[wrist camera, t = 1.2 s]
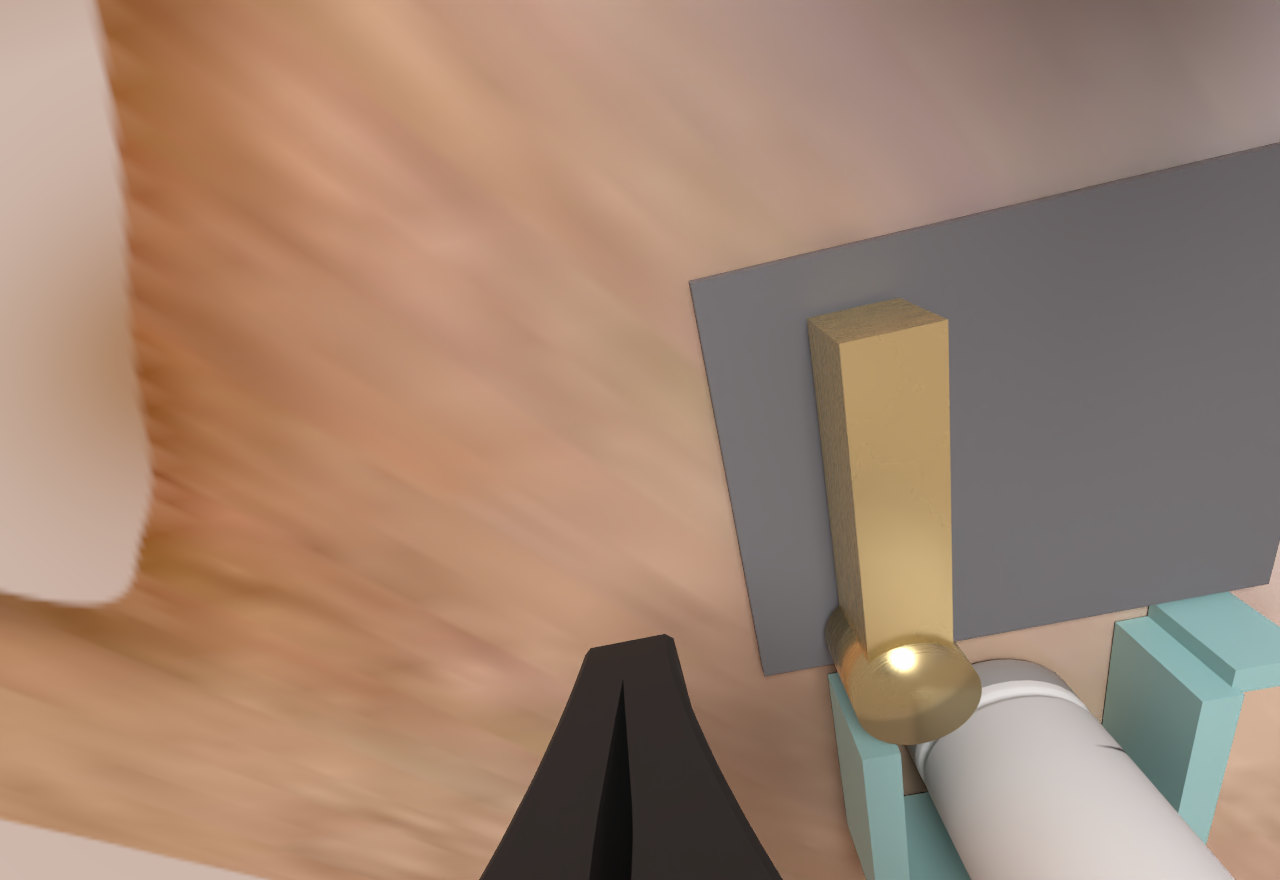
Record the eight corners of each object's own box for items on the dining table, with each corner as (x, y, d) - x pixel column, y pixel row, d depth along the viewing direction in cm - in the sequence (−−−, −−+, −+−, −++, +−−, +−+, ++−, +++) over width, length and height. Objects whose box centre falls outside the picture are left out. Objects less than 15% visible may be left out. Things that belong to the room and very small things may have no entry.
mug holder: (1222, 587, 21) (1332, 663, 17) (1183, 769, 24) (1267, 859, 21) (825, 660, 22) (860, 744, 18) (847, 824, 25) (879, 918, 22)
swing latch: (934, 658, 21) (981, 733, 18) (830, 677, 21) (860, 754, 18) (922, 292, 15) (985, 317, 13) (784, 323, 16) (817, 354, 13)
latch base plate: (1362, 122, 15) (1386, 121, 14) (1254, 574, 20) (1268, 583, 20) (688, 281, 16) (690, 284, 16) (761, 666, 22) (764, 676, 21)
